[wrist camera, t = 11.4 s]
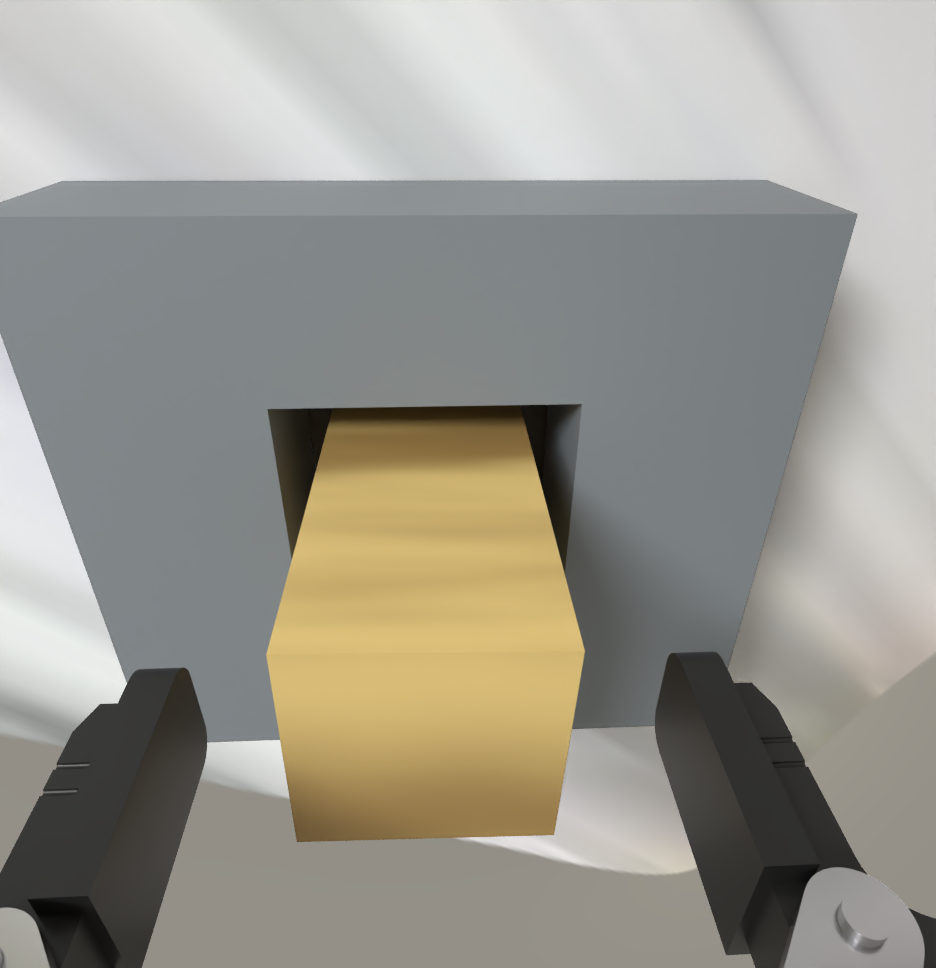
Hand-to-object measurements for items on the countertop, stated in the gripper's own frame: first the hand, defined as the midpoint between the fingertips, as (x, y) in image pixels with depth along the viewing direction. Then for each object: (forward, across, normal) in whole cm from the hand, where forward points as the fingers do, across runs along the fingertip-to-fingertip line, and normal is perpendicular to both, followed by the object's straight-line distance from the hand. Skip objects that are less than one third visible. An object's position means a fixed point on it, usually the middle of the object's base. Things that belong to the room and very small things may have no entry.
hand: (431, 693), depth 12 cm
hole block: (+9, 0, 0) cm, 9 cm away
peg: (+9, 0, 0) cm, 9 cm away
